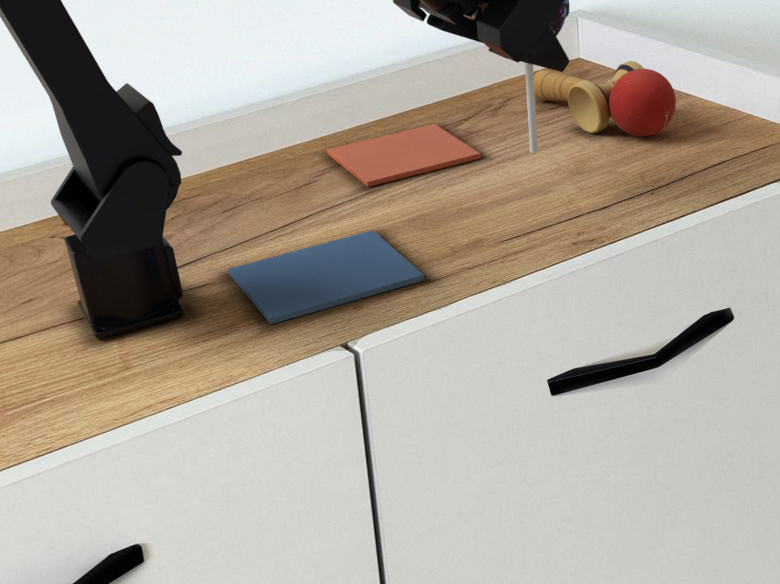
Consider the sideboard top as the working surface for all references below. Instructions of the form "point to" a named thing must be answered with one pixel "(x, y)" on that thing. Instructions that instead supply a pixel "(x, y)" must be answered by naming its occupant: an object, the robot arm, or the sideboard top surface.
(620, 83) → the kendama
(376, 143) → the terracotta pad
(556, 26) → the lollipop
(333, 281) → the slate pad
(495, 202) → the sideboard top surface
